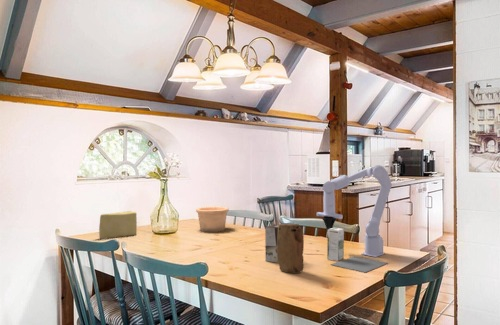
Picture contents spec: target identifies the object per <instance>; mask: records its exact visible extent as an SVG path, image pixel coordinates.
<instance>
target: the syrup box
mask: <svg viewBox="0 0 500 325" xmlns="http://www.w3.org/2000/svg"><path fill="white" fill-rule="evenodd" d="M344 236H345V229H344V228H341V227H333V228H331V229H328V232H327V242H326V243H327V246H326V247H327V249H326V251H327V253H326V254H327V257H326V258H327V260H329V261H334V262H335V261H336V262H339V261H342V260H345V259H344V257H345V255H344V254H345V253H344V250H345V249H344V247H345V246H344V245H345V244H344V242H345V237H344Z"/></svg>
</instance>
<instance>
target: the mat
mask: <svg viewBox="0 0 500 325" xmlns="http://www.w3.org/2000/svg"><path fill="white" fill-rule="evenodd" d="M388 264H389V263H388V262H386V261H385V262H384V261H380V260H375V259H371V258H364V257H359V256H351V257H349V258H345V259H342V260H340V261H336V262H333V263H332V264H331V263H330V266H332V267H333V266H334V267H338V268H341V269H347V270H352V271H356V272H360V273H364V274H366V273H369V272H370V271H373V270H375V269H378V268H381V267H383V266H385V265H388Z"/></svg>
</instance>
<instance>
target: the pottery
mask: <svg viewBox="0 0 500 325" xmlns="http://www.w3.org/2000/svg"><path fill="white" fill-rule="evenodd" d="M195 212H196V213H197V216H198V223H199V230H200V231H201V232H204V233H217V232H218V231H219V232H223V231H225V230H226V222H227V221H226V220H227V213H228V212H229V208H228V207H225V206H224V207H223V206H204V207H197V208H196V209H195Z"/></svg>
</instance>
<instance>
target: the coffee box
mask: <svg viewBox="0 0 500 325" xmlns="http://www.w3.org/2000/svg"><path fill="white" fill-rule="evenodd" d="M278 225H279V224H277V223H275V224H269V225H267V226H265V237H264V238H265V243H264V244H265V245H264V246H265V254H264V256H265V262H272V263H278V258H277V236H278Z"/></svg>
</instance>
